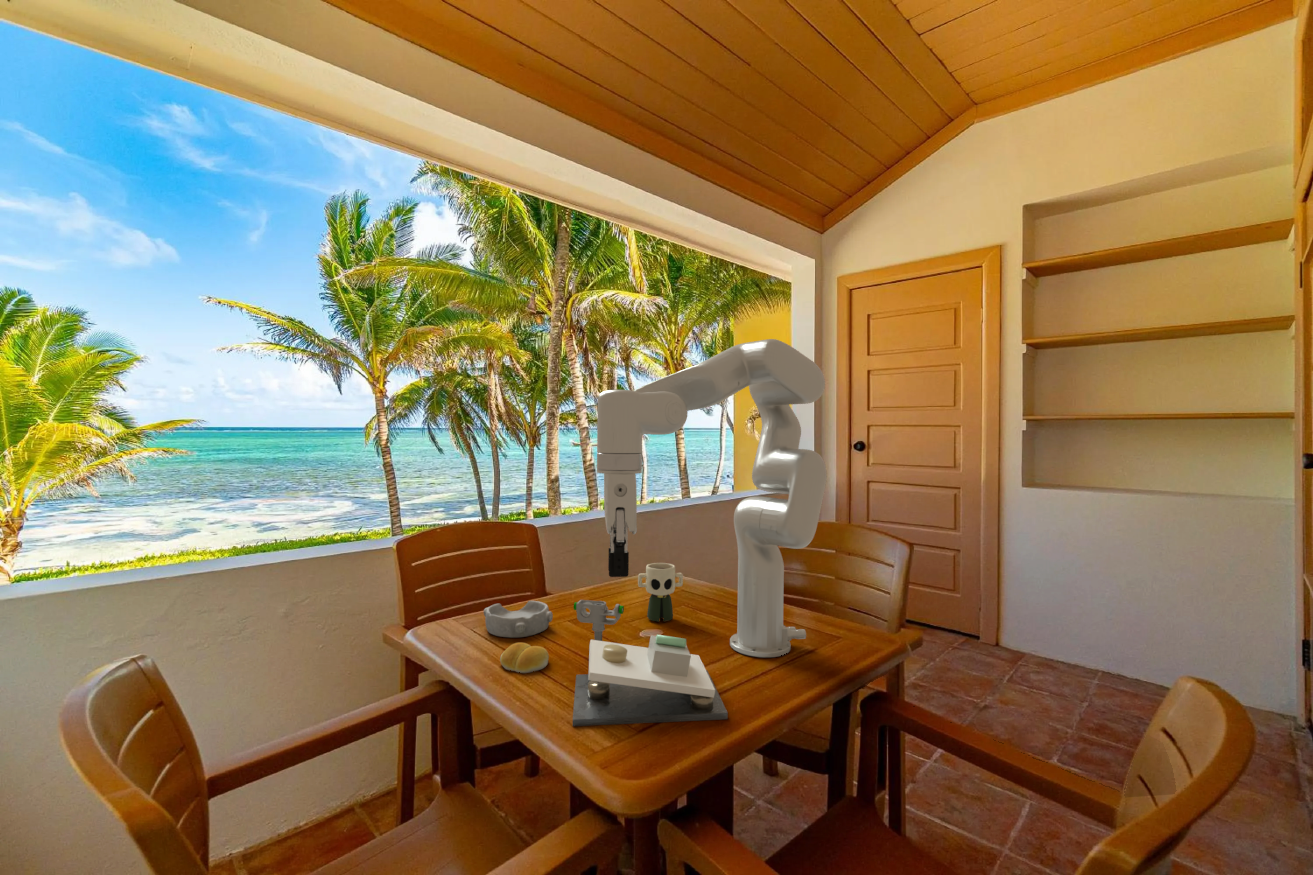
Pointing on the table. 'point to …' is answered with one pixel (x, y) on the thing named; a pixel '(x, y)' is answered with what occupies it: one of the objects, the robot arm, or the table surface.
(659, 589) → the character mug
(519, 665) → the bread roll
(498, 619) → the dish
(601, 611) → the mechanical component
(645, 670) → the levelling plate
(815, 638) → the table surface
